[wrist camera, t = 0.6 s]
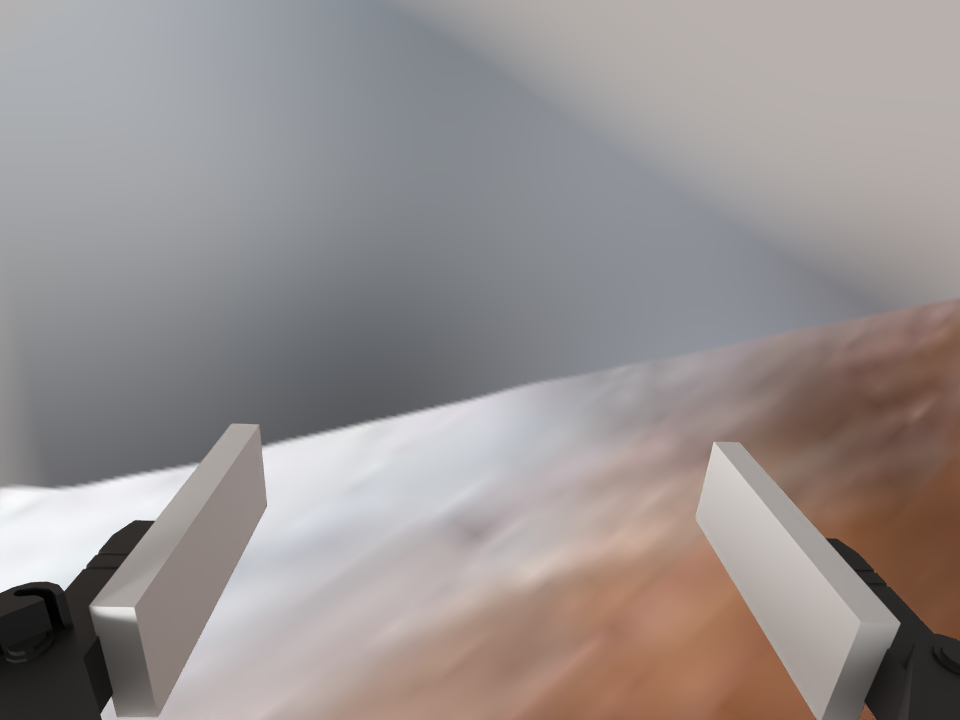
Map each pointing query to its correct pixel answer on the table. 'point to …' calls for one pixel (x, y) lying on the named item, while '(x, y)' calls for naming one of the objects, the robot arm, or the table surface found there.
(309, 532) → the table surface
